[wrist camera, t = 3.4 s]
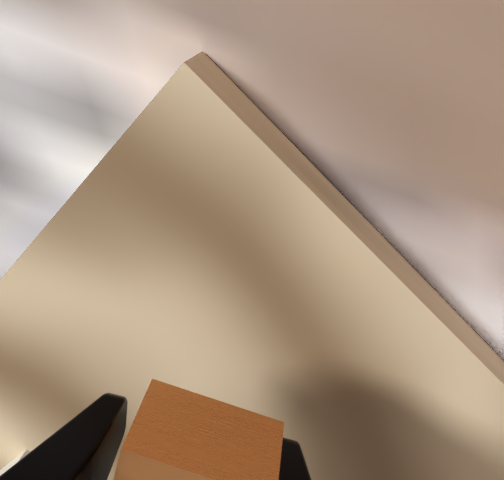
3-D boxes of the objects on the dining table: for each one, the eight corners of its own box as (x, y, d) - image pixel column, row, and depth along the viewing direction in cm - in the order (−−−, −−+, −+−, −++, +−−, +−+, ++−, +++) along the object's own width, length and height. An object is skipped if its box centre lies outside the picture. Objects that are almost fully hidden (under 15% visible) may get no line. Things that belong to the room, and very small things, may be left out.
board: (124, 604, 23) (111, 642, 22) (-138, 448, 20) (-171, 482, 18) (560, 419, 14) (585, 466, 12) (202, 51, 10) (184, 62, 9)
